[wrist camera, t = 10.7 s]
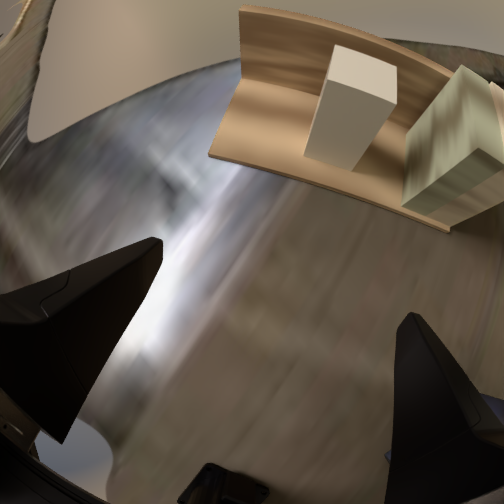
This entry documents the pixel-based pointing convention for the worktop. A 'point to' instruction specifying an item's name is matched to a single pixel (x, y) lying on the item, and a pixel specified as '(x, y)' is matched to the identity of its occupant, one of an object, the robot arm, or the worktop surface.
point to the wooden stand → (389, 136)
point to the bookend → (351, 107)
